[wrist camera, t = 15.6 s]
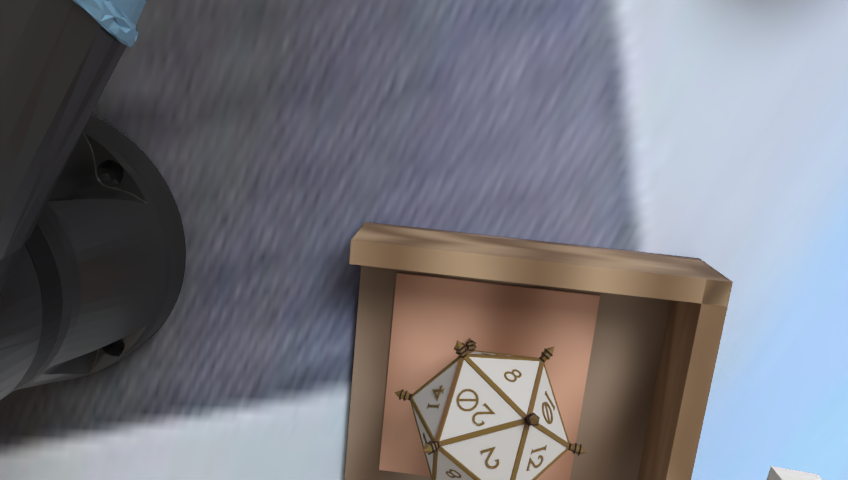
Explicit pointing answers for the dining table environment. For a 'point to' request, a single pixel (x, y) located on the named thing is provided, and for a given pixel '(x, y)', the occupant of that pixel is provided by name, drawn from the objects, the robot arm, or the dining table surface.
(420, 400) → the game die
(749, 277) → the dining table surface
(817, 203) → the dining table surface
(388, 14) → the dining table surface
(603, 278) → the brown wooden tray
